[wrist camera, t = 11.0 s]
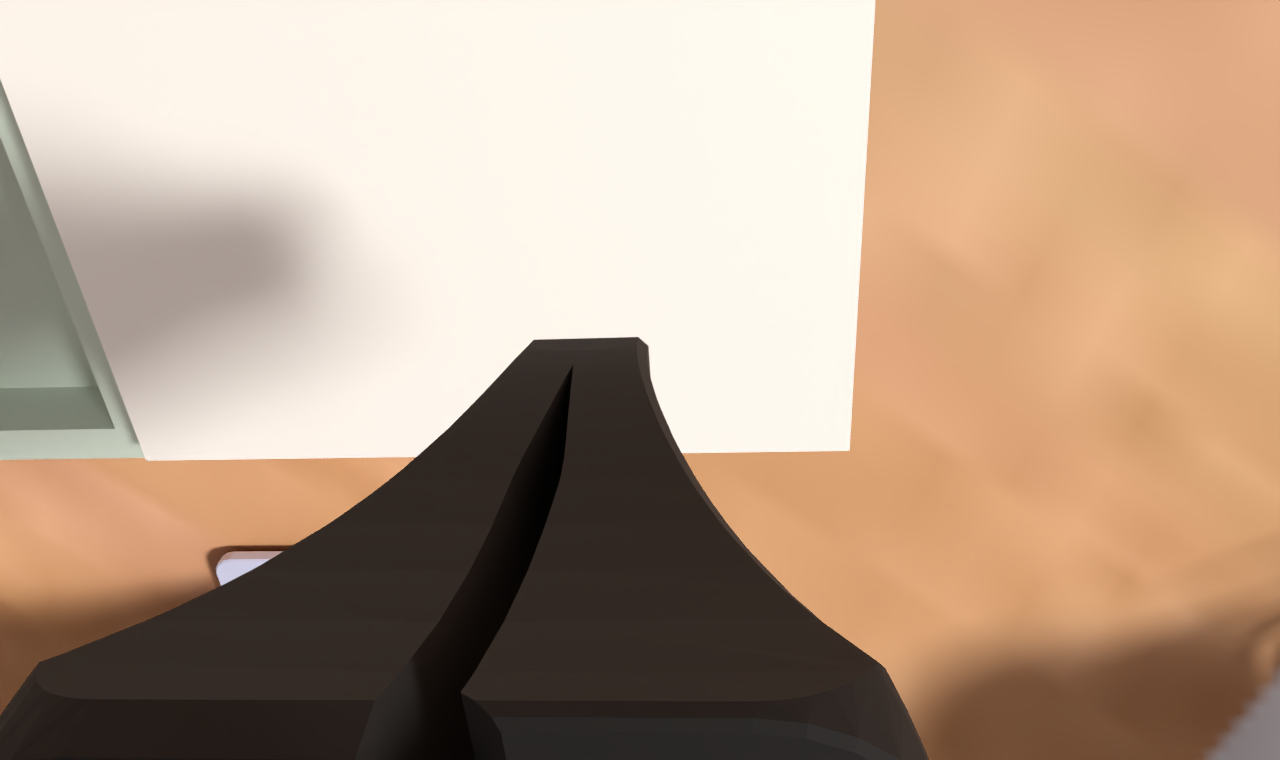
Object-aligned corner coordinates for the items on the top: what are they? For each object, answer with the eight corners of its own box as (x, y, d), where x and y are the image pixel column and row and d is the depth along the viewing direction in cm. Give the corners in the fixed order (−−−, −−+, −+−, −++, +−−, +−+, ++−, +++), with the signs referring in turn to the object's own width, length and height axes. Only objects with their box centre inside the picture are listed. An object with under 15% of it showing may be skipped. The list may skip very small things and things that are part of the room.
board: (835, 373, 24) (849, 450, 21) (202, 386, 25) (146, 461, 23) (863, -234, 18) (888, -226, 15) (16, -178, 19) (-92, -162, 16)
